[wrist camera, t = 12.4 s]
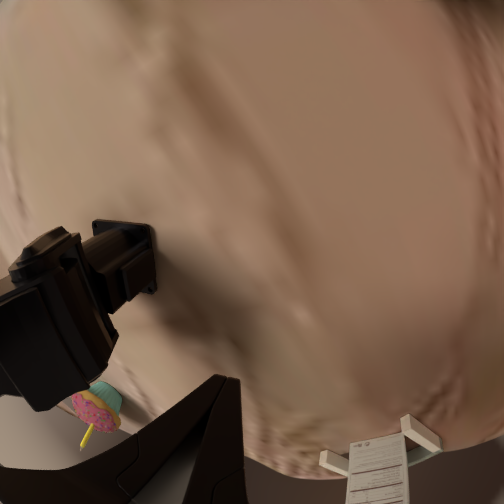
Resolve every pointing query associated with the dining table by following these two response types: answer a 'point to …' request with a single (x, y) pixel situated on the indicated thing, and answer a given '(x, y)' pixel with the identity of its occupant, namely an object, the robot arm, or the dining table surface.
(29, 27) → the dining table surface
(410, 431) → the bay
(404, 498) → the supplement box
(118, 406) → the cupcake
